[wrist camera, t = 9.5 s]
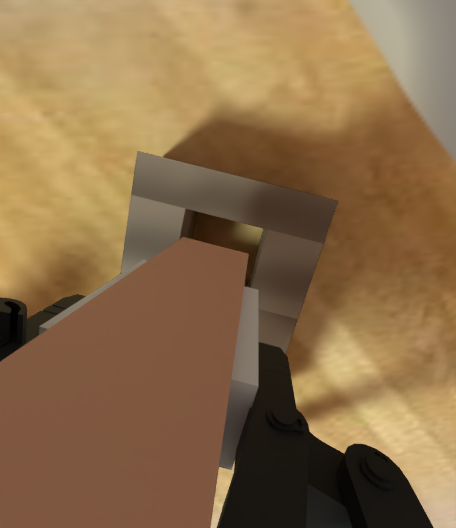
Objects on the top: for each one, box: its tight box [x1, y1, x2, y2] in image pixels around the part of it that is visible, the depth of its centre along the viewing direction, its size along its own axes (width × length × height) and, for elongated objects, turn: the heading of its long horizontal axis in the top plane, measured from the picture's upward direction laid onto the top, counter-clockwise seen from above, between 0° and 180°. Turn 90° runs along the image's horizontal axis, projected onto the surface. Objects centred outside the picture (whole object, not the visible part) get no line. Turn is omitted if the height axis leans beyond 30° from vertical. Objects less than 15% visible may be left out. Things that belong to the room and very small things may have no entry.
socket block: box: [120, 151, 338, 355], centre depth 24 cm, size 20×14×5 cm
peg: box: [0, 237, 249, 528], centre depth 10 cm, size 4×4×16 cm
